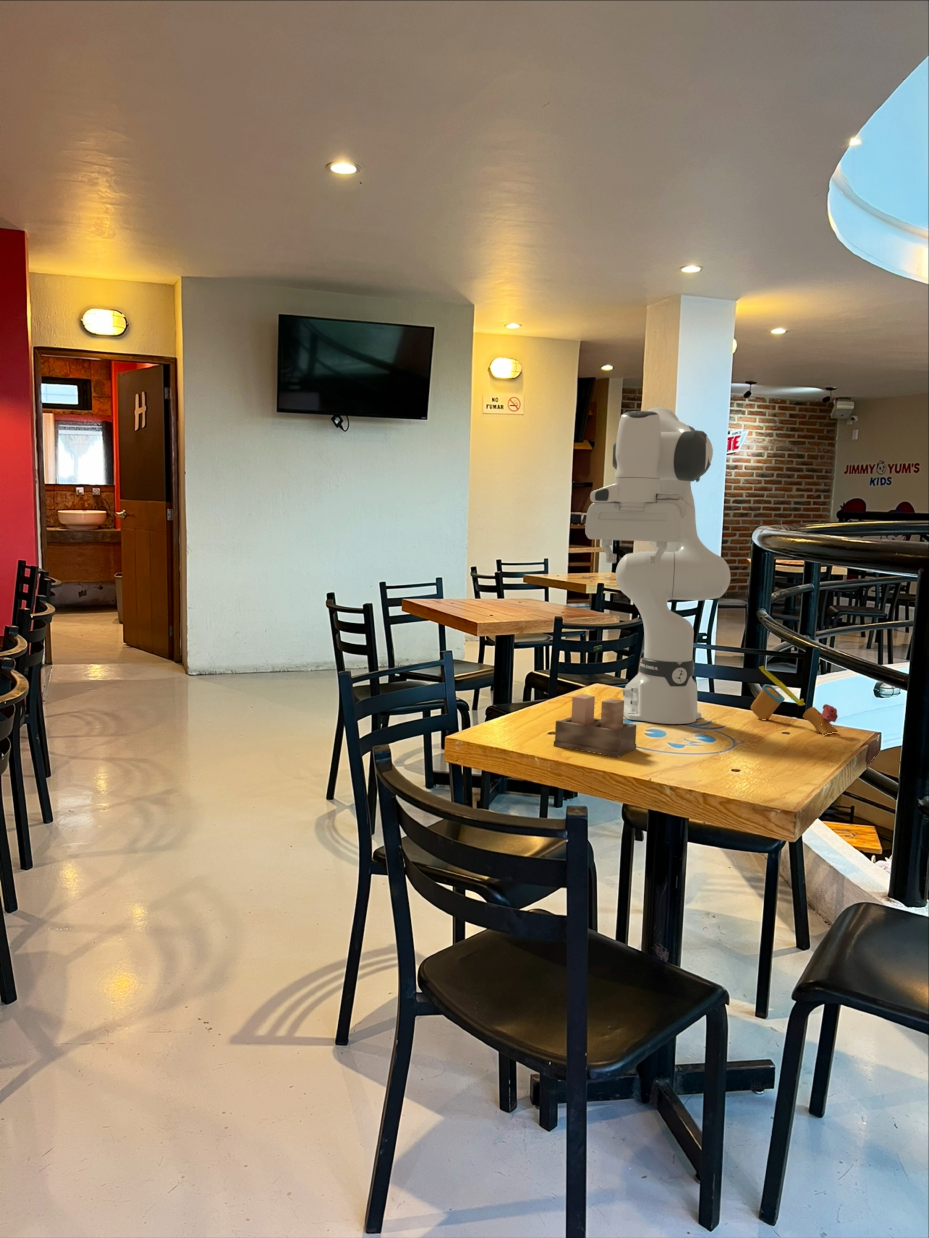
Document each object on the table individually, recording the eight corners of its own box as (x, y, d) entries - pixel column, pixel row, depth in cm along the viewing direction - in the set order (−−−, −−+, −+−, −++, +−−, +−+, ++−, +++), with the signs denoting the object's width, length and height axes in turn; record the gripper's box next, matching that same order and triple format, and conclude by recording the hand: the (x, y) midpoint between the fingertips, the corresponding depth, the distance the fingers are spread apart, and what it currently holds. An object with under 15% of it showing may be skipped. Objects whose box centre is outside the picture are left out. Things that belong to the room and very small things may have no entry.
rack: (553, 745, 183) (555, 697, 182) (574, 737, 191) (576, 691, 190) (617, 757, 176) (619, 706, 175) (636, 748, 183) (638, 699, 182)
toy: (746, 696, 222) (777, 650, 214) (813, 762, 208) (849, 715, 200) (732, 699, 219) (763, 652, 211) (800, 766, 205) (835, 718, 197)
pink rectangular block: (570, 740, 184) (572, 696, 183) (579, 737, 187) (581, 694, 186) (583, 742, 182) (585, 698, 181) (592, 739, 186) (594, 696, 185)
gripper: (693, 494, 176) (689, 566, 177) (597, 494, 187) (594, 561, 189) (681, 493, 170) (677, 567, 172) (583, 492, 182) (580, 562, 183)
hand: (632, 564), depth 180 cm, fingers open, 8 cm apart
